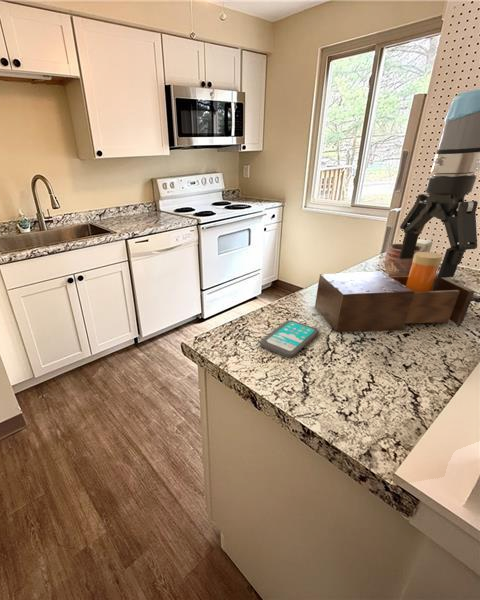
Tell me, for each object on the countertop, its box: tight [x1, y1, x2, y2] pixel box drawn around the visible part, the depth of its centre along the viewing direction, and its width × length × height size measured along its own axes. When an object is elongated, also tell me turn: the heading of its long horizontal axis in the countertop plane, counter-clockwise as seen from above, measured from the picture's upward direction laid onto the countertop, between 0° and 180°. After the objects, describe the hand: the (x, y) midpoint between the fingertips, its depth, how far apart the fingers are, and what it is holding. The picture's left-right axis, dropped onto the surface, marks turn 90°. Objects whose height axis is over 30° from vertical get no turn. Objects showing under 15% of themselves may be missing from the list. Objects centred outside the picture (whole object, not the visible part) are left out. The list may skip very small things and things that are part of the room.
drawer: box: [388, 273, 480, 325], centre depth 79 cm, size 19×12×9 cm, turn 84°
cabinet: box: [314, 270, 415, 333], centre depth 81 cm, size 16×14×11 cm
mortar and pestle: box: [384, 224, 426, 276], centre depth 94 cm, size 12×9×20 cm
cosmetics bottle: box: [416, 238, 434, 252], centre depth 107 cm, size 5×4×10 cm
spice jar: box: [406, 251, 444, 292], centre depth 78 cm, size 5×5×15 cm
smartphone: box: [260, 320, 319, 358], centre depth 77 cm, size 9×1×15 cm
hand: (423, 266), depth 76 cm, fingers open, 13 cm apart
